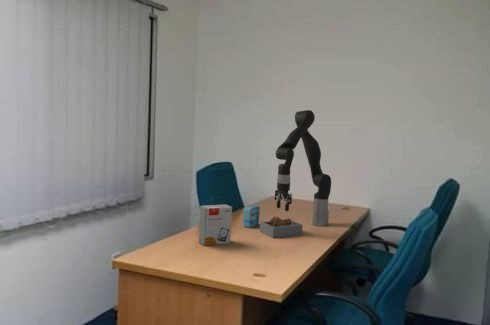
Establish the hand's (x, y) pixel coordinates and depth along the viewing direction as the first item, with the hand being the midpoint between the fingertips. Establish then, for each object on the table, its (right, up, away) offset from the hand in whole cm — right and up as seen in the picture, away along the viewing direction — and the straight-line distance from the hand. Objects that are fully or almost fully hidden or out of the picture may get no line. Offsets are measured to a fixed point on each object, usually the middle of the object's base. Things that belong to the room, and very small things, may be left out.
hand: (282, 209), depth 271 cm
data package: (-18, -12, +16) cm, 27 cm away
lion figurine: (-3, -12, +1) cm, 12 cm away
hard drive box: (-38, -16, -24) cm, 48 cm away
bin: (-1, -14, +2) cm, 14 cm away
